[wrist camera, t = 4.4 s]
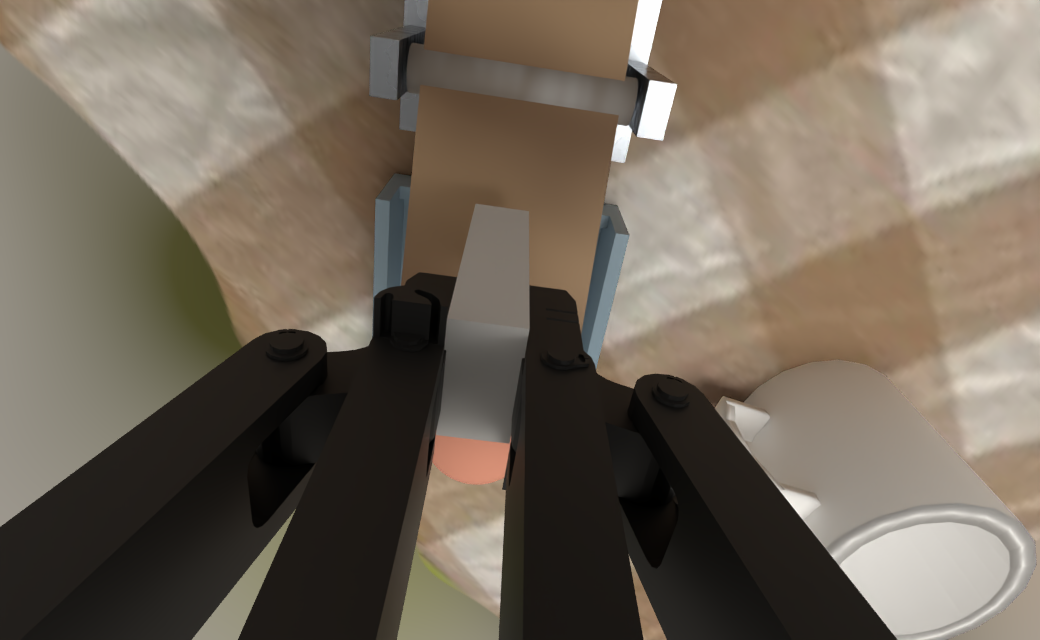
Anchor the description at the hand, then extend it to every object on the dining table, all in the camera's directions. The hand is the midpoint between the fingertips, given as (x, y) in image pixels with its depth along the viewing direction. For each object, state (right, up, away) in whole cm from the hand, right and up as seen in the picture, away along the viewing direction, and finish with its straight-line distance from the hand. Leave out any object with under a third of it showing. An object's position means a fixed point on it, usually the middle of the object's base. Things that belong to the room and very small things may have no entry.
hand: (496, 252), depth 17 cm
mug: (+18, -8, +19) cm, 27 cm away
